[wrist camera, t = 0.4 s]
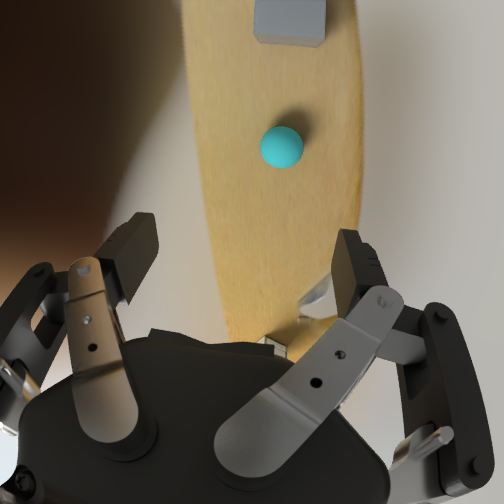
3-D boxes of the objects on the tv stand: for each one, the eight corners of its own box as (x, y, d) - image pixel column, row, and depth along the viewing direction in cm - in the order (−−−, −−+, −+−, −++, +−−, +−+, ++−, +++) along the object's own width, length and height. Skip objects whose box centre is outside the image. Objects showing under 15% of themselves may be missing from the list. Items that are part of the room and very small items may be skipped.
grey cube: (261, -4, 24) (255, -23, 18) (318, 1, 23) (326, -17, 17) (259, 43, 27) (253, 33, 21) (316, 47, 27) (324, 39, 21)
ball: (262, 122, 33) (259, 128, 29) (303, 125, 33) (306, 132, 29) (260, 160, 36) (257, 171, 32) (300, 163, 36) (302, 175, 31)
